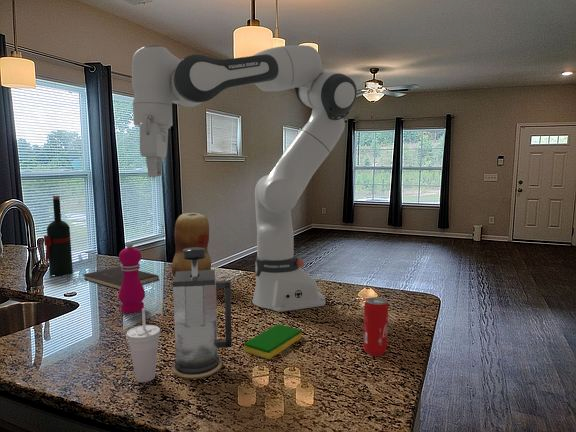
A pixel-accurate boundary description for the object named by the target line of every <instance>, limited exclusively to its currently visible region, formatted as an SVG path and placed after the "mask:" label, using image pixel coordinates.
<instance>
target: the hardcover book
mask: <svg viewBox="0 0 576 432" xmlns="http://www.w3.org/2000/svg"><path fill="white" fill-rule="evenodd" d="M121 269H122V267H121V265H120V266H115V267H111V268H107V269H102V270H97V271H92V272H87V273H84V274H82V276H84V278H83V279H84V280H86V279H88V280H87V281H90V280H91V281H90V282H93V281H94V283H96V282H97V283H96V284H100V285H104V286H107V287H111V288H114V289H118V290H120V288H121V286H122V283H123V271H122V270H121ZM138 274H139V279H140V282H141V284H142V285H144V284H146V282H147V283H149V282H154V281H157V279H159V278H160V277H159V275H158V274H155V273H150V272H146V271H143V270H139V271H138Z"/></svg>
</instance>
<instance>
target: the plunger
mask: <svg viewBox="0 0 576 432" xmlns="http://www.w3.org/2000/svg"><path fill="white" fill-rule="evenodd" d="M183 258H184V259H187V260H191V264H192V277H198V263H197V259H203V258H205V248H199V247H193V248H186V249H183Z"/></svg>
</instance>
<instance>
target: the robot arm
mask: <svg viewBox="0 0 576 432" xmlns="http://www.w3.org/2000/svg"><path fill="white" fill-rule="evenodd" d="M322 66H323V63H322V58H321V55H320V53H319V51H318V50H317V49H315V47H313V46H310V45H304V44H303V45H302V44H301V45H300V44H297V45H296V44H293V45H292V44H291V45H283V46H277V47H271V48H267V49H264V50H261V51H259V52H257V53H255V54H253V55H250V56H242V57H234V58H228V59H226V58H225V59H217V58H214V57H210V56H206V55H204V54H190V55H188V56H185V57H184V58H183V59H180V58H179V57H177V56H176V55H174V54H172V52H170V50H169V49H167V47H165V46H161V45H147V46H142V47H140V48H138V49H137V50H136V51H135V52H134V54H133V56H132V61H131V88H132V89H133V99H132V100H133V101H132V113H133V116H132V117H133V125H134V126H136V127H137V126H138V127H139V153H140V156H141V157H142V158H143V157H145V162H146V168H147V176H148V178H156V177H161V176H162V173H163V172H162V168H163V158H164V159H165V158H166V157H167V154H168V145H169V144H168V143H169V141H168V140H169V130H170V129H171V127H173V124H174V123H173V104H174V105H177V106H181V107H185V108H193V107H197V106H198V105H201V104H202V103H204V102H208V101H210V100H212V99H213V98H216V96H218V94H221V92H223V91H224V90H227V89H233V88H237V87H245V86H249V85H255V86H256V87H257V88H258V89H259V90H261V91H262V92H282V91H286V90H291V89H293V92H294V95H295V97H296V99H297V101H298V102H299V103H300V104H301V105H303V106H305V107H307V108H310V109H312V110H311V115H310V116H309V119H308V121H307V122H306V124H305V125H304V126H303V127H302V128H301V129H300V130H299V132H298V133H297V135H296V136H295V137H294V138H293V140H292V141H291V142H290V143H289V145H288V146H287V148H286V149H285V150H284V151H283V153H282V155H281V156H280V158H279V160H278V161H277V163H276V165H275V166H273V168H272V170H271V172H270V173H269V174H266V175H264V176H261V178H260V179H258V181H257V183H256V185H255V188H254V201H255V203H254V204H255V207H254V208H255V219H256V220H255V221H256V244H257V245H256V250H257V251H256V253H257V255H256V257H255V275H256V278H255V279H256V281H255V287H254V293H253V298H252V300H251V301H252V303H253V305H255V306H256V307H259V308H263V309H269V310H272V311H274V312H281V313H282V312H288V311H297V310H302V309H303V310H304V309H309V308H316V307H317V308H318V307H323V306H325V305H326V302H327V301H326V297H325V296H324V294H322V293H321V292H320V291H319V288H318V284H317V281H316V280H315V279H314V278H313V277H312V276H311V275H310V274H308V273H307V272H306V271H304V270H303V269H302V267H303V266H305V265H304V264H305V261H303V259H301V258H299V257H297V256H296V255H294V244H295V243H294V242H295V241H294V240H295V239H294V227H293V219H292V210H293V208H295V206H296V205H297V203H298V200H299V199H300V198H301V196H302V195H303V193H304V191H305V190H306V188H307V186H308V184H309V183H310V181H311V179H312V178H313V176H314V175H315V173H316V171H317V170H319V168H320V166H321V165H322V164H323V163H324V161H325V160H326V158H328V156H329V155H330V153H331V152H332V151H333V149H334V148H335V146H336V144H337V143H338V142H339V140H340V138H341V136H342V134H343V132H344V130H345V127H346V124H345V123H346V122H345V119H344V118H346V117H347V116H348V115H349V112H350V110H351V109H352V107H353V106H354V104H355V103H356V102H355V101H356V100H357V99H356V98H357V93H358V91H357V85H356V83H355V81H354V80H353V79H352V78H351V77H350V76H348V75H346V74H343V73H341V72H340V73H339V72H334V71H331V70H324V69H323V67H322Z"/></svg>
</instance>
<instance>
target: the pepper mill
mask: <svg viewBox="0 0 576 432" xmlns="http://www.w3.org/2000/svg"><path fill="white" fill-rule="evenodd" d="M118 260H119V263H121V265H120V266H121V267H122V269H121V270H122V271H123V283H122V286H121V288H120V289H118V290H119V291H118V301H119V302H120V303H122V304H121V305H120V312H121V313H123V314H127V315H129V314H137V313H141V312H142V309H143V308H145V304H144V302H143V301H144V299H145V297H146V291H145V288H144V285H143V284H141V282H140V279H139V274H138V271H140V269H141V266H140V265H141V264H140V263H139V262H140V261H141V260H142V253H141V251H140V249H138V248H136V247H134V243H133V242H131V241H130V242H127V243H126V247H125V248H123V249H122V250H121V251H120V252H119V254H118Z"/></svg>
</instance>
